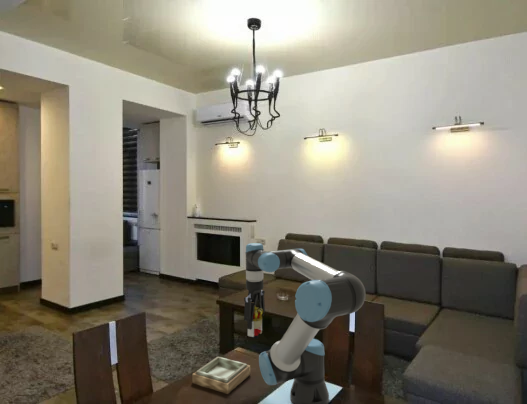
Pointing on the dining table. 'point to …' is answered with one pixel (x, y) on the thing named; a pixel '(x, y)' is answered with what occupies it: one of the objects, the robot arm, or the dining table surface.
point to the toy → (257, 321)
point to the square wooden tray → (221, 374)
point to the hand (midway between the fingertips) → (254, 333)
